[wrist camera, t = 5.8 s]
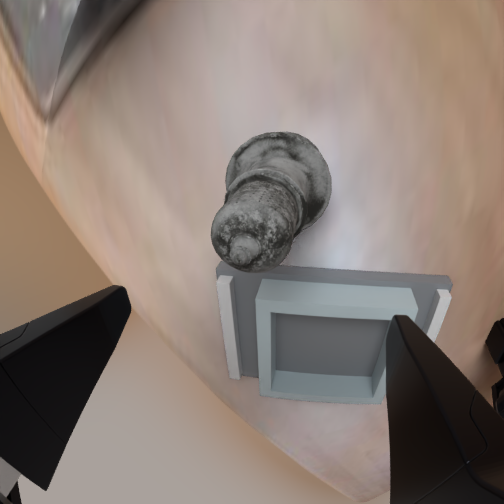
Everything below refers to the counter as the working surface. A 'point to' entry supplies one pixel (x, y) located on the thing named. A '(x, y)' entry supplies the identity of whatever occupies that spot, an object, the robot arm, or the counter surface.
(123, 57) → the counter surface
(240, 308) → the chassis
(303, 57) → the counter surface
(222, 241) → the grey stone chess piece
